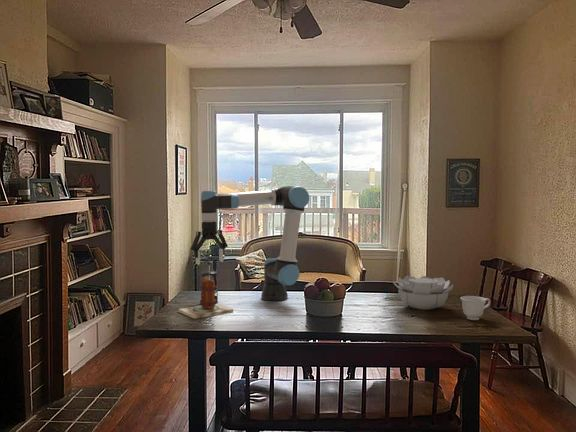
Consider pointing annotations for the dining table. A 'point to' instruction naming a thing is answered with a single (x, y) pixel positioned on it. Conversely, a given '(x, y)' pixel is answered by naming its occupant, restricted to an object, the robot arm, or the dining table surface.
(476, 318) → the teacup
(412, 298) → the decorative bowl
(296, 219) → the robot arm
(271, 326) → the dining table surface
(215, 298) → the french press
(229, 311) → the serving board
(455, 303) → the dining table surface
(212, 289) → the mug
